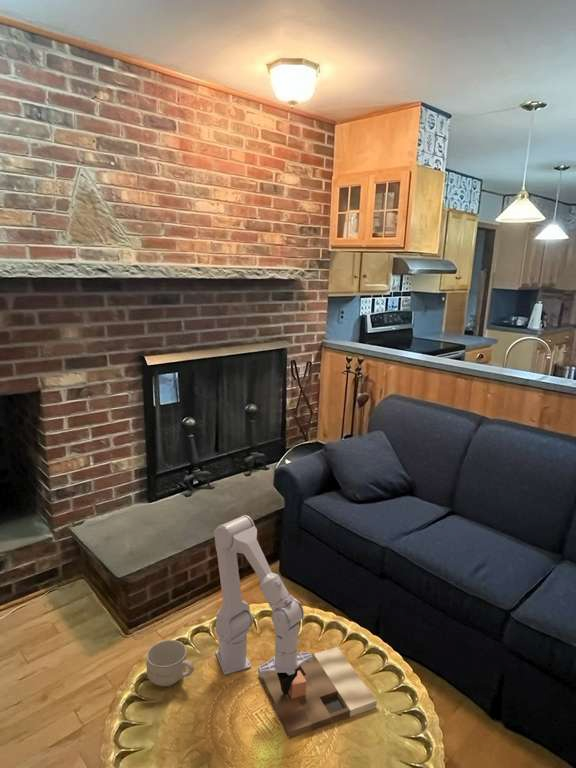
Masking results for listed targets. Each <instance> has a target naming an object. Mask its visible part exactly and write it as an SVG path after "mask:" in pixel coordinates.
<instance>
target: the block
mask: <svg viewBox="0 0 576 768" xmlns="http://www.w3.org/2000/svg"><path fill="white" fill-rule="evenodd" d="M306 682H307V681H306V680H305V678H304V676H303V675H302V673H301V671H297V676H296V677H295V679H294V680H293V682H292V684H291V686H290V688H289V691H288V693H289V695H290V696H291V698H292V699H293V698H296V697H299V696H303V695H306Z"/></svg>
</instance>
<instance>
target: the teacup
mask: <svg viewBox="0 0 576 768" xmlns="http://www.w3.org/2000/svg"><path fill="white" fill-rule="evenodd" d="M187 651H188V650H187V646H186V645H185V644H184V643H182V642H181V641H179V640H174V639H166V640H161V641H159V642H158V641H157V642H156V643H155V644H153V645H151V646H150V647H149V648H148V649H147V651H146V653H145V657H146V674H147V678H148V679H149V681H150V682H151V683H152V684H154V685H156V686H159V687H169V686H173V685H174V684H176V683H177V682H178V681H179V680H183V679H184V678H187V677H189V676H191V675H192V674H193V672H194V670H195V667H194V663H193V662H192V661H190V660H189V659H187ZM186 666H187V668H188V670H189V671H186ZM185 671H186V672H185Z"/></svg>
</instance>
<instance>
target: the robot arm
mask: <svg viewBox="0 0 576 768" xmlns="http://www.w3.org/2000/svg"><path fill="white" fill-rule="evenodd" d="M213 535H214V544H215V551H216V553H217V554H216V555H217V562H218V571H219V579H220V588H221V595H222V597H221V598H222V604H221V606H220V608H219V609H218V611H217V612H216V615H215V617H216V618H215V619H216V622H215V626H214V627H215V632H216V635H217V637H218V650H215V655H216V657H217V660H218V663H219V665H220V668H221V670H222V673H223V675H224V676H225V675H229V674H232V673H237V672H240V671H243V670H247V669H250V668H251V666H252V664H251V662H250V661H249V658H248V656H247V646H248V645H247V643H248V642H247V641H248V639H247V638H248V633H250V631H249V630H250V628H251V627H252V626H253V624H254V617H253V616H254V615H253V614H252V612H251V609H250V604H249V603H247V602H246V601H245V600H243V597H242V587H241V582H240V573H239V563H238V555H237V554H242V555H244V557H245V558H246V560H247V562H248V563H249V565H250V566H251V568H252V569H253V571H254V572H255V573H256V575H257V577H258V579H259V580H260V582H259V589H260V591H261V592H262V595H263V596H264V599H265V600H266V601H267V604H268V606H269V607H270V609H271V612H272V614H271V615H270V616H271V621H272V623H273V626H274V628H273V629H274V633H275V641H274V642H275V644H274V656H273V657H272V658H271V659H269V660H268V661H266V662H264V663H263V664H260V665H258V667H257V673H258V677H259V676H260V677H259V679H260V678H262V677H264V675H265V674H269V673H277V675H278V678H279V681H280V685H281V690H282V692H283V694H284V695H286V694H288V691H289V688H290V686H291V684H292V682H293V680H294V679H295V677H296V676H297V670H296V668H298V667H299V666H301V665H302V664H304V663H306V662H308V663H312V657H313V656H312V655H311V652H310V651H305V652H298V645H299V644H298V643H299V642H298V641H299V626H300V625H299V624H300V623H299V622H300V621H301V620H302V619H304V616H305V614H304V608H303V606H302V604H301V602H300V601H299V600H298V599H297V598H295V597H294V595H292V594H290V593H289V591H288V589H287V588H286V586H285V584H284V582H283V580H282V579H281V577H280V575H279V574H277V573H274V572H273V571H272V569H271V568H270V565H269V562H268V561H267V558H266V557H265V554H264V552H263V550H262V548H261V546H260V544H259V541H258V539H257V538H258V529H257V527H256V525H255V523H254V520H253V519H252V518H251V517H250V516H249V515H247V514H242V515H241V516H239V517H237V518H234V519H232V520H230V521H228V522H226V523H223V524H219V525H218V526H217V527H216V528H215V529H214V530H213Z"/></svg>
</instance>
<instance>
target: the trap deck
mask: <svg viewBox="0 0 576 768" xmlns="http://www.w3.org/2000/svg"><path fill="white" fill-rule="evenodd" d="M311 655H312V656H313V657H312V663H308V662H306V663H304V664H302V665H301V666H299V667H298V668H296V670H297V671H301V673H302V675H303V676H304V678H305V680H306V681H307V682H306V695H303V696H299V697H296V698H293V699H292V698H291V696H290V695H289V693H288V694H286V695H284V694H283V692H282V690H281V685H280V681H279V678H278V675H277V673H269V674H265V675H264V677H262V678H260V676H259V675H258V677H259V679H260V681H261V683H262V685H264V686H263V687H265V688H264V689H266V690H265V692H266V694H267V696H268V698H269V700H270V702H271V704H272V706H273V708H274V710H275V711H274V712H276V714H277V717H278V719H279V721H280V724H281V725H283V726H282V727H283V730H284V732H285V734H286V736H287V738H288V739H289V740H290V739H293V738H297V737H299V736H301V735H305V734H306V733H309V732H312V731H316V730H317V729H320V728H324V727H326V726H329V725H331V724H334V723H338V722H341V721H342V720H345V719H348V718H351V717H355V716H356V715H359V714H362V713H364V712H367V711H370V710H373V709H375V708H377V704H378V700H377V699H376V698H375V696H374V695H373V693H372V692H371V691H370V689H369V687H367V685H366V684H365V683H364V681H363V679H361V677H360V676H359V674H358V673H357V672H356V670H355V668H353V666H352V665H351V663H350V662H349V661H348V659H347V658H346V656H345V655H344V654H343V652H342V651H341V650H340V648H339V647H338V646H334V647H331V648H329V649H324V650H320V651H318V652H315V653H312V654H311Z"/></svg>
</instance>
